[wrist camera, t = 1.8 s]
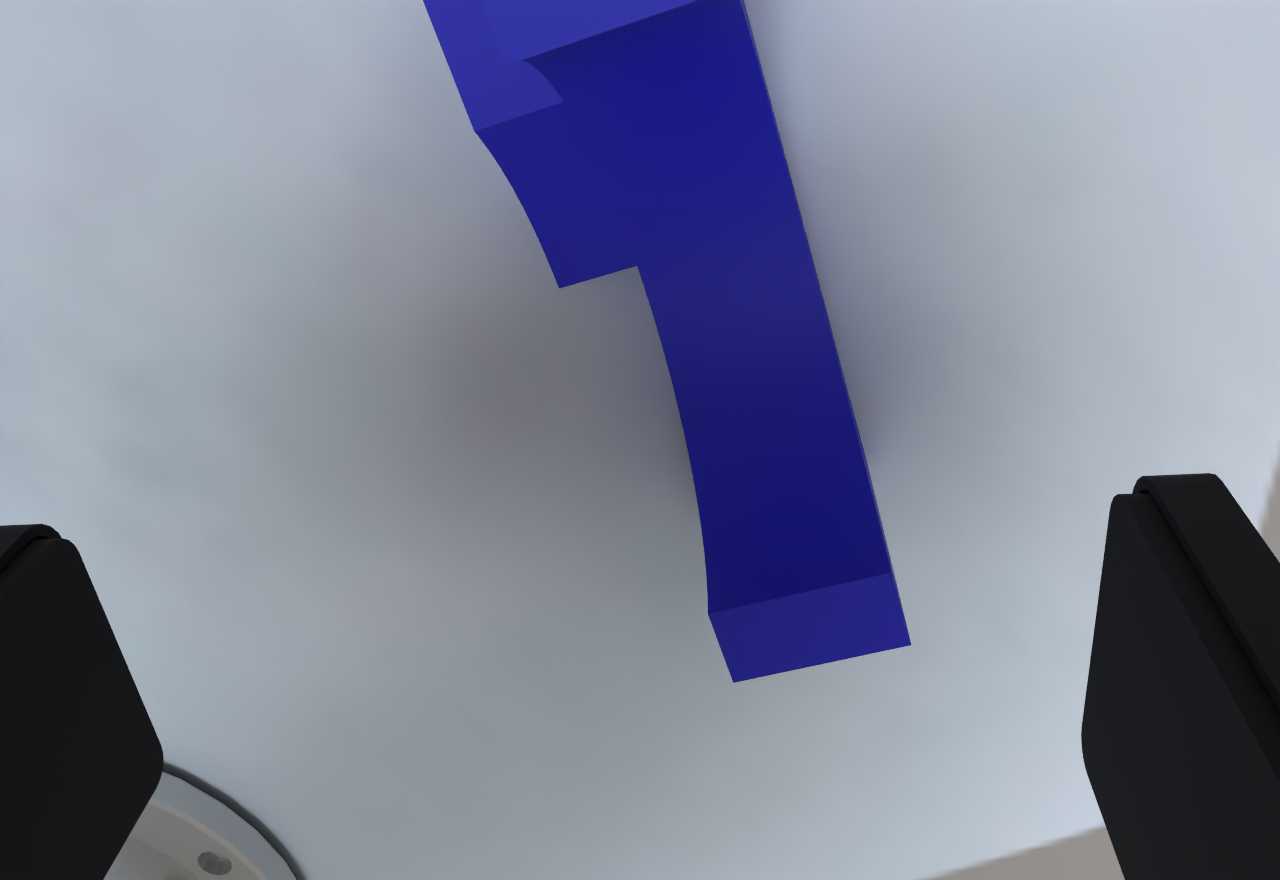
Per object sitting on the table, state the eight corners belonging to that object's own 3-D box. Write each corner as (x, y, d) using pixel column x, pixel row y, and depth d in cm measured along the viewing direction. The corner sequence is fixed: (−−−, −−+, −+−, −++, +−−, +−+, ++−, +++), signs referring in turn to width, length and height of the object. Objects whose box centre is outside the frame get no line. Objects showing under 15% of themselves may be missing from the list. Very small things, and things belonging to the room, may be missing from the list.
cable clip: (448, -62, 19) (348, -17, 14) (702, -155, 18) (699, -146, 13) (662, 511, 24) (649, 700, 19) (866, 460, 23) (910, 645, 18)
